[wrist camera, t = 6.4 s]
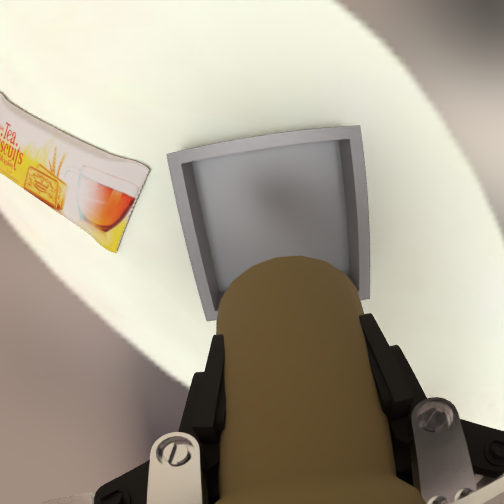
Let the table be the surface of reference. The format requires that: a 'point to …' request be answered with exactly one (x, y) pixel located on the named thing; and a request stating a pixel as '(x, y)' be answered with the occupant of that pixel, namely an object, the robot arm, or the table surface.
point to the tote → (273, 205)
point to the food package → (70, 174)
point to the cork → (301, 392)
